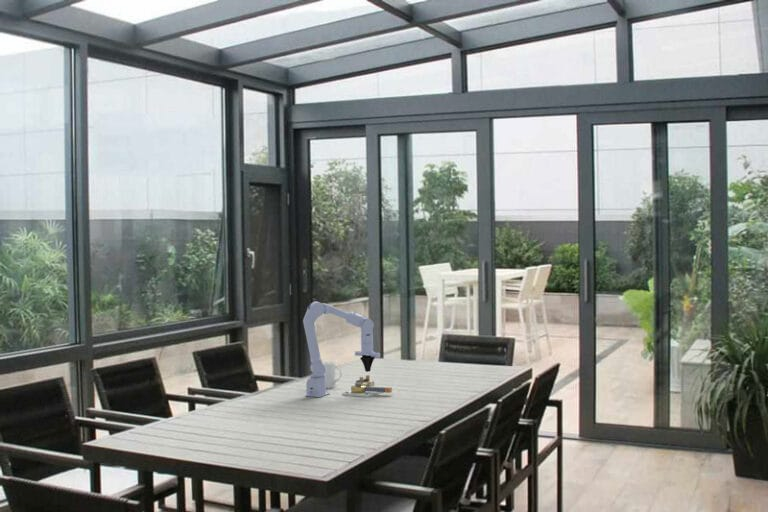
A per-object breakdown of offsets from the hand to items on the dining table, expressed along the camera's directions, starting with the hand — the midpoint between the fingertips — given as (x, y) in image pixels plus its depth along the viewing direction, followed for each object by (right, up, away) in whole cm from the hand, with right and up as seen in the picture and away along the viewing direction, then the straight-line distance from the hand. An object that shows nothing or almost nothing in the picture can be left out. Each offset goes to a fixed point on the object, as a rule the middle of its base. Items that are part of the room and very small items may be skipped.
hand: (367, 371), depth 425 cm
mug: (-19, -10, +17) cm, 27 cm away
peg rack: (-2, -10, +16) cm, 19 cm away
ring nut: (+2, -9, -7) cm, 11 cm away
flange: (-2, -10, -3) cm, 11 cm away
